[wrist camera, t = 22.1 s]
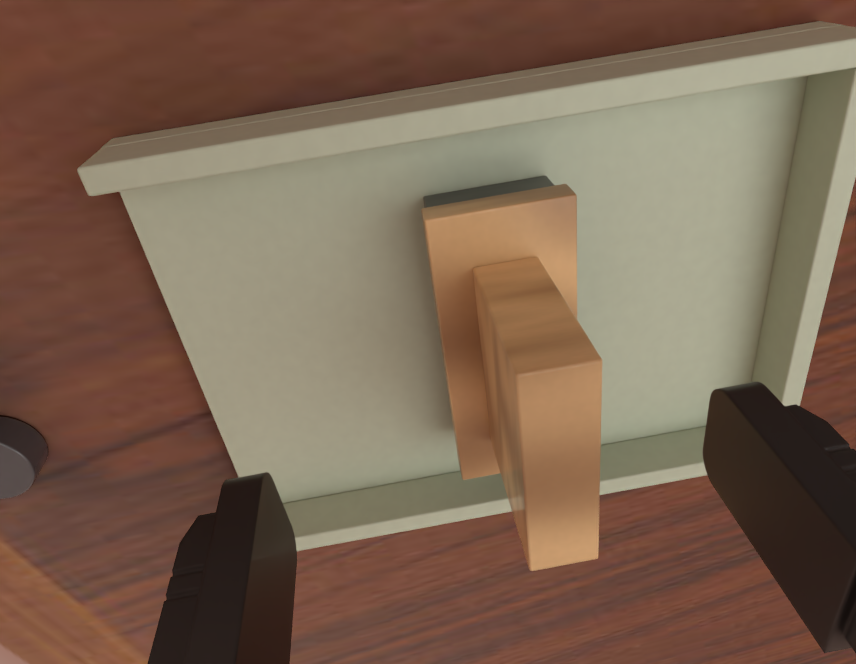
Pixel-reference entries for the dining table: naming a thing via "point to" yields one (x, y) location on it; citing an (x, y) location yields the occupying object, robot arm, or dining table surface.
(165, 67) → the dining table surface
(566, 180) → the tray
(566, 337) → the wooden board eraser
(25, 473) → the pebble
